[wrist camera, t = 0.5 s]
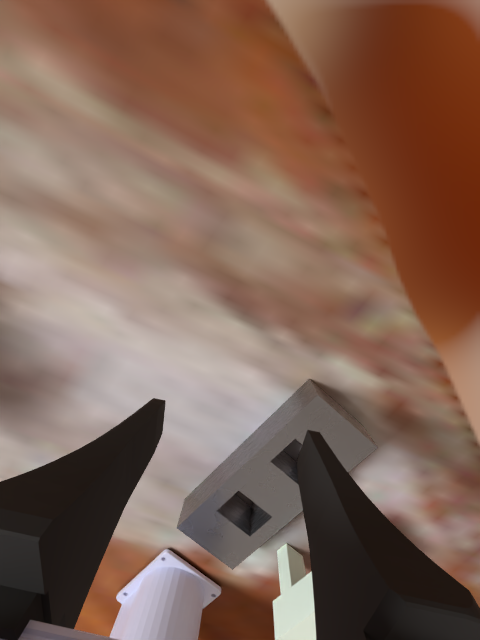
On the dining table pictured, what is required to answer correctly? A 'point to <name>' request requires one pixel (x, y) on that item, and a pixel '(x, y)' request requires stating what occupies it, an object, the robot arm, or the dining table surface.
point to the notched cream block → (294, 598)
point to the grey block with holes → (268, 476)
